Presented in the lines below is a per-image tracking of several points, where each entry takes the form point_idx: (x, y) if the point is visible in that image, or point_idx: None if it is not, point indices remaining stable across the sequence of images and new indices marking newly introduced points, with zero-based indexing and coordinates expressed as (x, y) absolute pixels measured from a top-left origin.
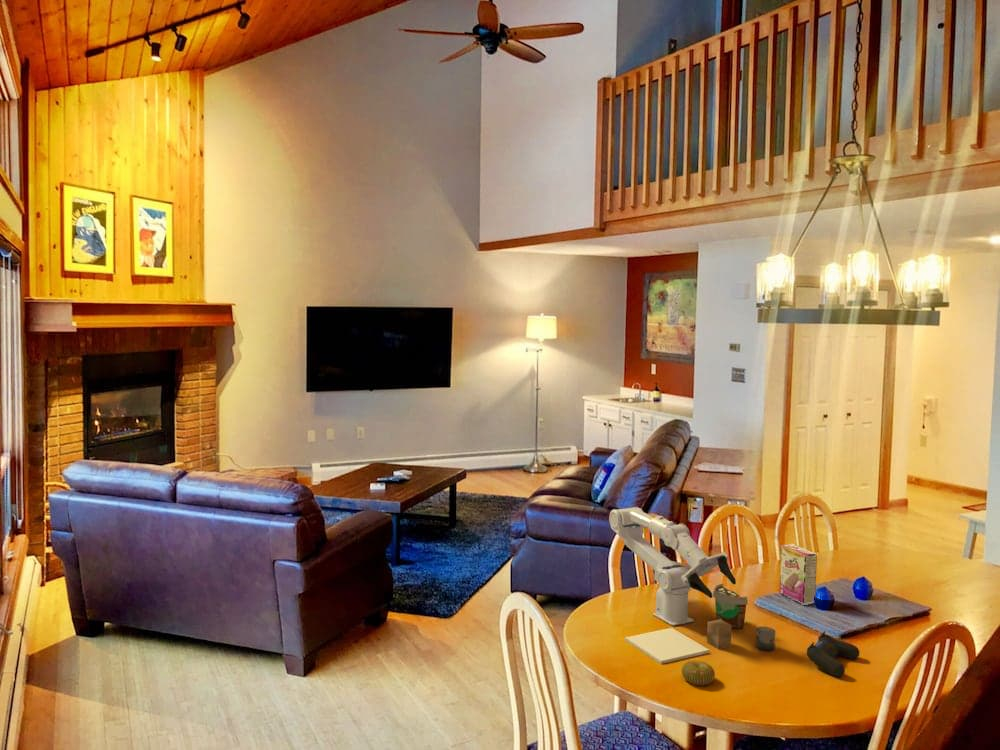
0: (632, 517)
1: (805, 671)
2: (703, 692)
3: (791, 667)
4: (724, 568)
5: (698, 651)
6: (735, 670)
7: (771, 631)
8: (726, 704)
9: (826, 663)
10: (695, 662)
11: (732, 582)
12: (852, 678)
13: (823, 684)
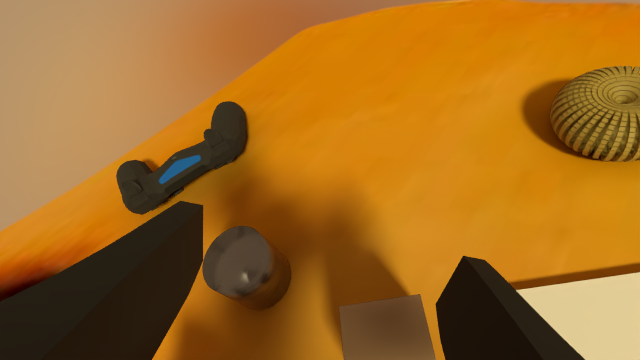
0: None
1: (276, 145)
2: None
3: (289, 164)
4: (79, 331)
5: (539, 294)
6: (444, 167)
7: (224, 243)
8: (555, 36)
9: (238, 113)
10: (635, 108)
11: (194, 265)
12: None
13: (287, 100)
